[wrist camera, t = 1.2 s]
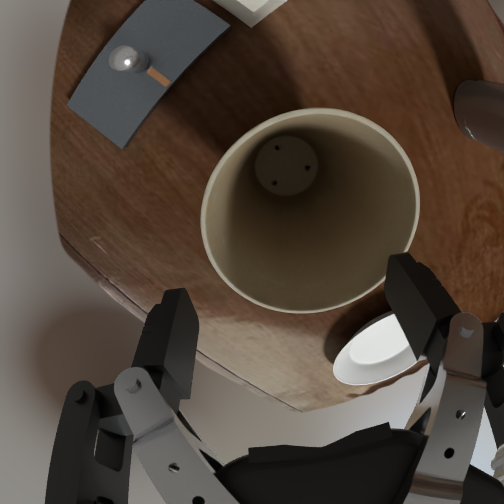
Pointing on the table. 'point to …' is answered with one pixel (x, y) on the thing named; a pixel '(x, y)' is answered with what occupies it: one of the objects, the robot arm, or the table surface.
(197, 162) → the table surface
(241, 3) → the white and orange block
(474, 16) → the table surface
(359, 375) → the bowl
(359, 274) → the plant pot
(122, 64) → the panel
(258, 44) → the table surface
